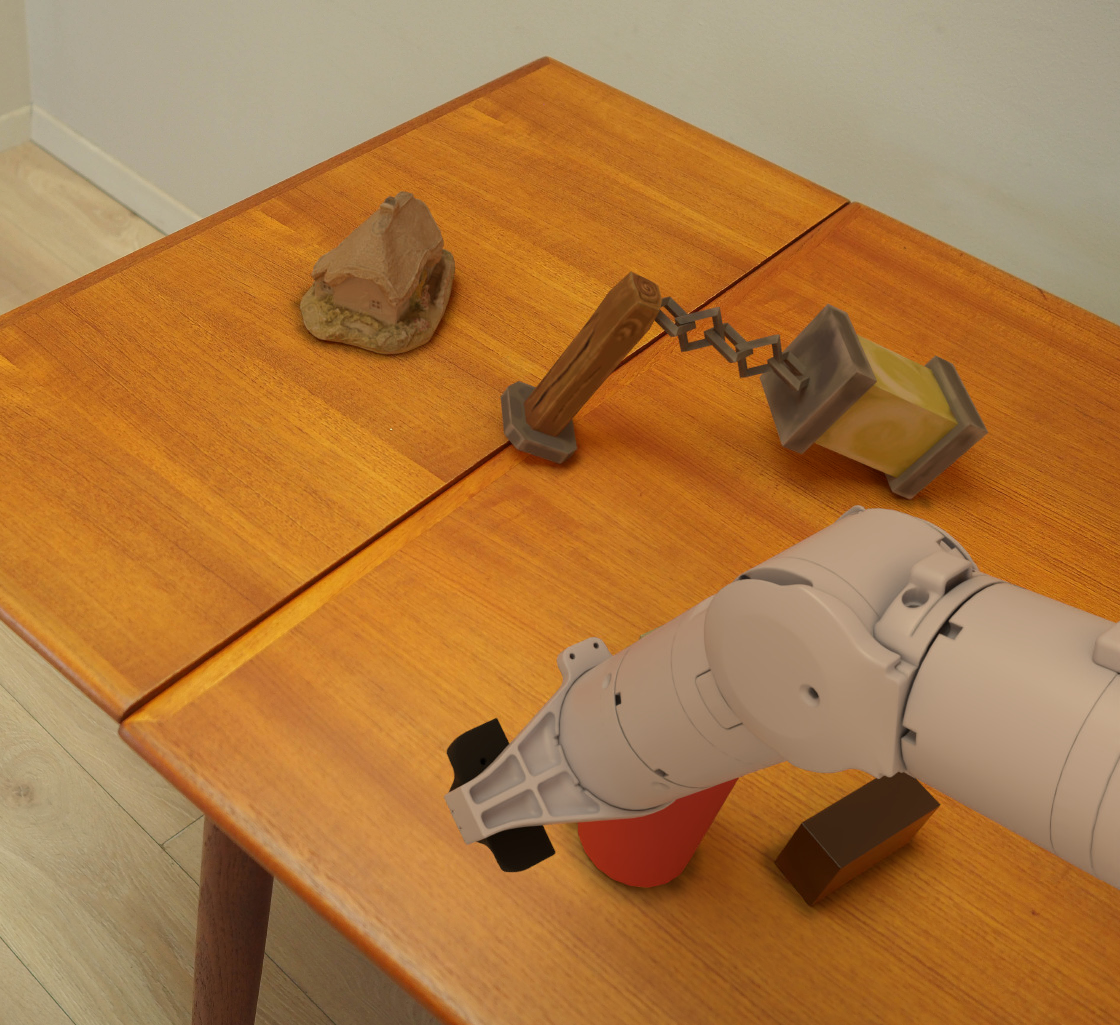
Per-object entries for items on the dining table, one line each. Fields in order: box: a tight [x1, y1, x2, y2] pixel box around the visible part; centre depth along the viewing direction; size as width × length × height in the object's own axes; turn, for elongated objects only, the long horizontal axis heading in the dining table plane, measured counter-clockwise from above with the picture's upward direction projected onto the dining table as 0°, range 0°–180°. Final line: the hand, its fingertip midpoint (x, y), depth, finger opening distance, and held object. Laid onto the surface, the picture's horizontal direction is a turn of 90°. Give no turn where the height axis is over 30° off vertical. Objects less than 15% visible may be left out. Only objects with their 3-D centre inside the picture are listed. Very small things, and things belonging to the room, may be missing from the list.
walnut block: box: [774, 772, 941, 907], centre depth 65 cm, size 3×8×4 cm, turn 122°
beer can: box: [577, 777, 740, 889], centre depth 61 cm, size 7×7×12 cm
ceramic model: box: [299, 190, 456, 355], centre depth 93 cm, size 14×11×10 cm
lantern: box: [500, 271, 989, 500], centre depth 86 cm, size 8×17×30 cm
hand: (531, 780), depth 53 cm, fingers open, 7 cm apart
